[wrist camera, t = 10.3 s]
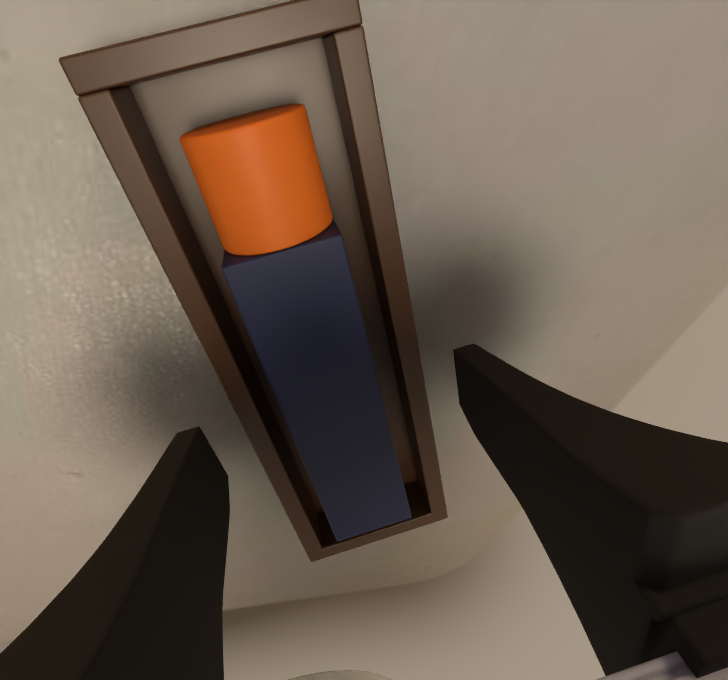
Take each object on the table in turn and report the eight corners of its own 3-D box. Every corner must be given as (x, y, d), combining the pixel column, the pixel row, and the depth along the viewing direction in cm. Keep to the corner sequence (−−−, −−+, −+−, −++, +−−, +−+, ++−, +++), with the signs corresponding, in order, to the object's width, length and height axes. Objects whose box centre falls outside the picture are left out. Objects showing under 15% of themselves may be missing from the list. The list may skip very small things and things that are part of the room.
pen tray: (430, 477, 19) (448, 518, 17) (305, 517, 18) (311, 563, 17) (338, -2, 10) (356, -16, 8) (91, 59, 9) (56, 57, 8)
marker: (392, 460, 17) (412, 518, 15) (326, 480, 17) (337, 542, 15) (299, 99, 10) (310, 107, 8) (186, 128, 10) (167, 144, 8)
